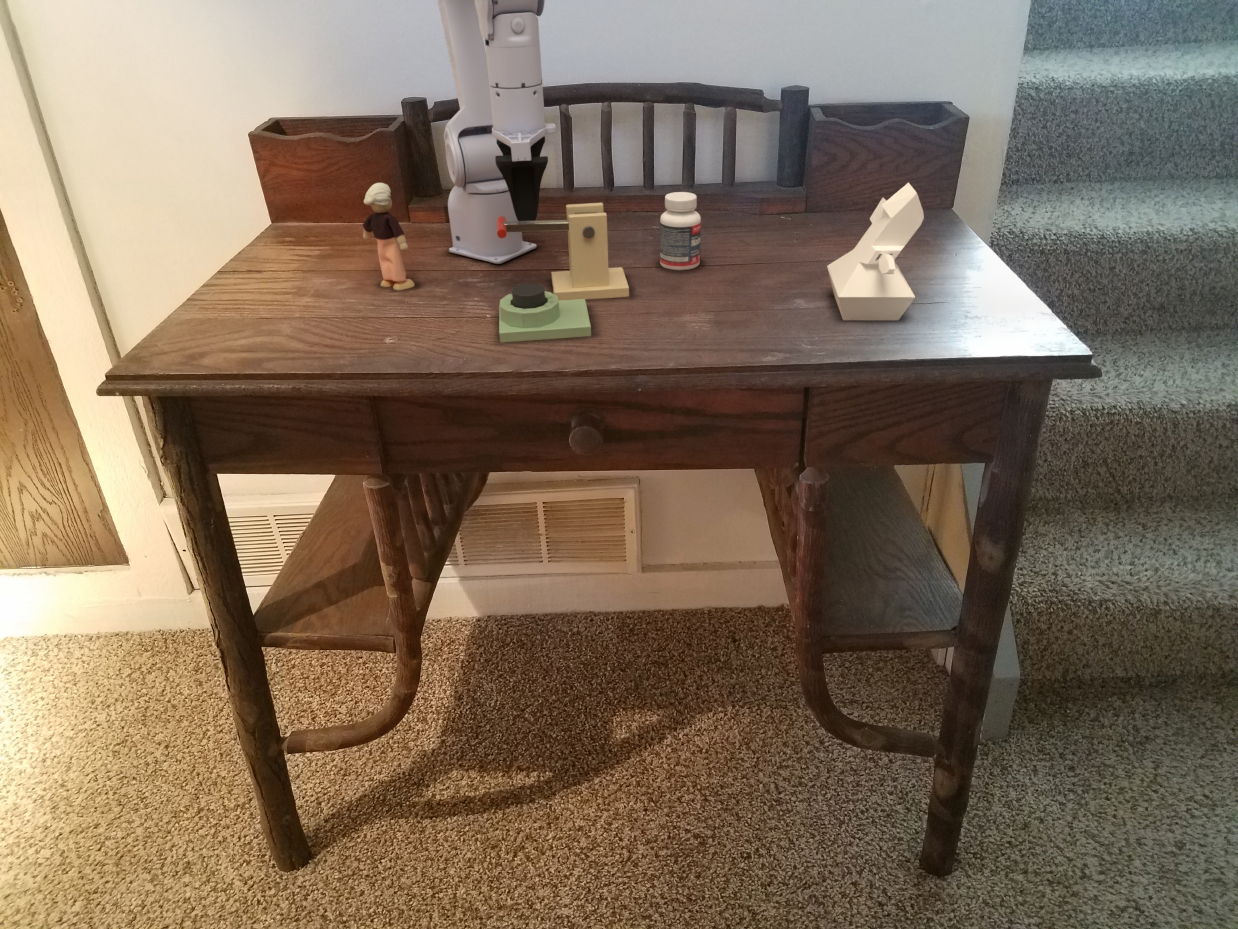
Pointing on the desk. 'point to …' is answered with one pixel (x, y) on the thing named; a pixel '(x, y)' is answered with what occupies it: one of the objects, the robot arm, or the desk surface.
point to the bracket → (588, 258)
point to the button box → (543, 320)
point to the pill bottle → (680, 232)
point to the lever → (532, 225)
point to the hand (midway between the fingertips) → (526, 209)
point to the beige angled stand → (878, 262)
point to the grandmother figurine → (386, 237)
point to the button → (528, 296)
